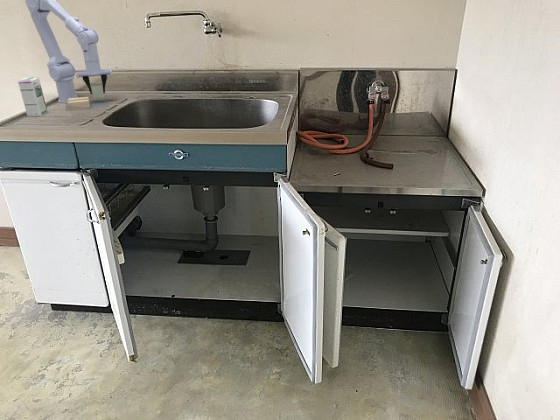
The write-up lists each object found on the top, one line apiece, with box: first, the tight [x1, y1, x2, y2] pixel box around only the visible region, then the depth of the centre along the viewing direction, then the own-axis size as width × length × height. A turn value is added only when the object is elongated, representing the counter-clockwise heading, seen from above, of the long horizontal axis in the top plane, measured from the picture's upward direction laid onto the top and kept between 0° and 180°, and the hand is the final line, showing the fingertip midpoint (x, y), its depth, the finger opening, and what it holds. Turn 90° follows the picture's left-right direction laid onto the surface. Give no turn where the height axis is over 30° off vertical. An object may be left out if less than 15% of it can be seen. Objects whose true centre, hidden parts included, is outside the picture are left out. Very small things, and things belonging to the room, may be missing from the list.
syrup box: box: [17, 76, 48, 117], centre depth 186 cm, size 6×6×14 cm
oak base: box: [67, 96, 91, 111], centre depth 197 cm, size 8×8×3 cm
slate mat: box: [65, 99, 110, 112], centre depth 200 cm, size 14×17×1 cm
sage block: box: [90, 82, 105, 99], centre depth 203 cm, size 4×4×5 cm
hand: (97, 93), depth 204 cm, fingers closed on sage block, 4 cm apart
